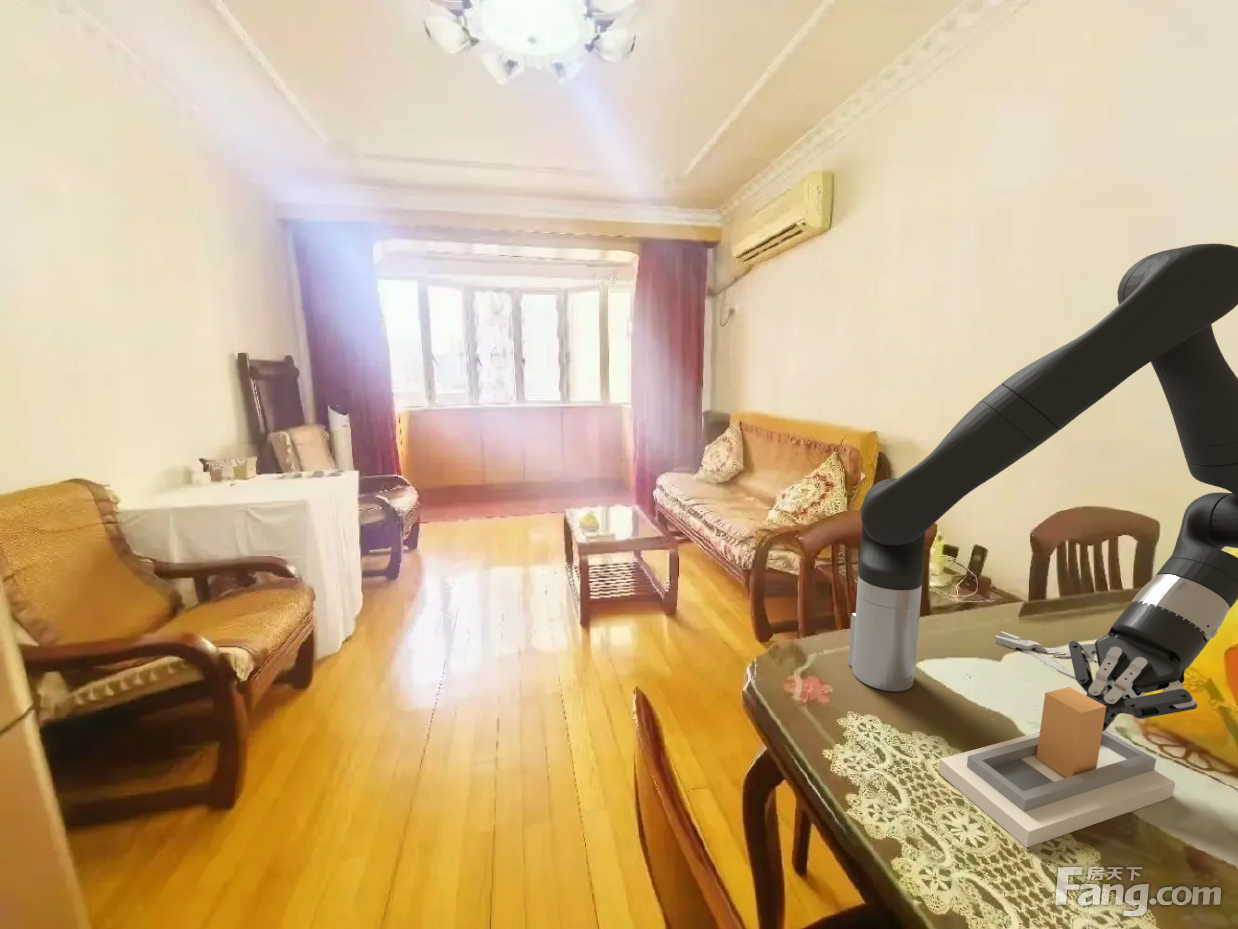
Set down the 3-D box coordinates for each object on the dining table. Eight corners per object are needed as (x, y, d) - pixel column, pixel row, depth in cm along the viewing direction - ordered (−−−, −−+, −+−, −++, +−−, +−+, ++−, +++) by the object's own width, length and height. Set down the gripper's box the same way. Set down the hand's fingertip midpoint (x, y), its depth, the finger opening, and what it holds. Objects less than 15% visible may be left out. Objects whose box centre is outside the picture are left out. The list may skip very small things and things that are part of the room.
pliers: (1097, 679, 82) (987, 641, 94) (1095, 688, 83) (987, 649, 95) (1112, 658, 88) (1007, 625, 100) (1110, 666, 89) (1006, 633, 100)
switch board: (938, 772, 66) (941, 748, 65) (1070, 735, 72) (1074, 713, 71) (1026, 847, 55) (1030, 819, 55) (1172, 796, 61) (1177, 771, 61)
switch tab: (1036, 757, 65) (1045, 692, 64) (1059, 750, 66) (1069, 686, 65) (1071, 781, 61) (1081, 713, 60) (1095, 773, 62) (1106, 706, 61)
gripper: (1096, 582, 70) (1016, 681, 69) (1232, 628, 57) (1138, 749, 56) (1117, 613, 72) (1041, 709, 71) (1253, 664, 60) (1163, 781, 59)
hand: (1084, 727), depth 64 cm, fingers closed
